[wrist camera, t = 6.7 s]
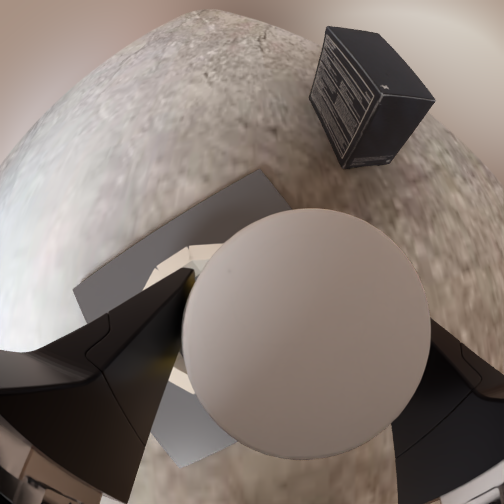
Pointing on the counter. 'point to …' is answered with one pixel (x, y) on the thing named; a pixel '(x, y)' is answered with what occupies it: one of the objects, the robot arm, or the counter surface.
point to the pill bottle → (306, 334)
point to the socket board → (195, 256)
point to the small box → (366, 97)
